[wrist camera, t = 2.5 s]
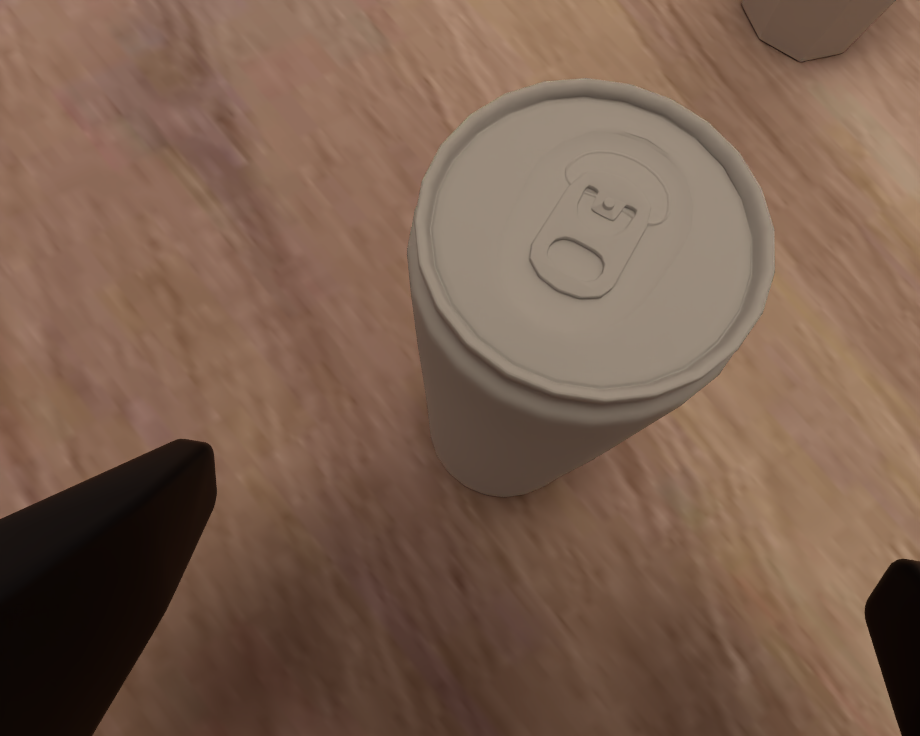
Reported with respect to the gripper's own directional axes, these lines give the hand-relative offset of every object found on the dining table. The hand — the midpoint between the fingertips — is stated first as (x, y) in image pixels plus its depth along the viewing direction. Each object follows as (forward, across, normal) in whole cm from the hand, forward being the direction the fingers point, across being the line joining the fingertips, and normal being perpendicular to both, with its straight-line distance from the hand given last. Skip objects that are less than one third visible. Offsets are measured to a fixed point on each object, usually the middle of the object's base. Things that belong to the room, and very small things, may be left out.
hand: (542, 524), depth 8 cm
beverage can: (+10, 0, +5) cm, 11 cm away
